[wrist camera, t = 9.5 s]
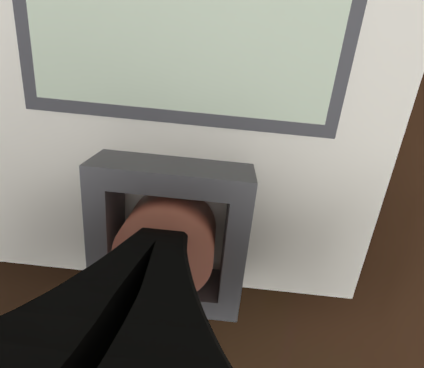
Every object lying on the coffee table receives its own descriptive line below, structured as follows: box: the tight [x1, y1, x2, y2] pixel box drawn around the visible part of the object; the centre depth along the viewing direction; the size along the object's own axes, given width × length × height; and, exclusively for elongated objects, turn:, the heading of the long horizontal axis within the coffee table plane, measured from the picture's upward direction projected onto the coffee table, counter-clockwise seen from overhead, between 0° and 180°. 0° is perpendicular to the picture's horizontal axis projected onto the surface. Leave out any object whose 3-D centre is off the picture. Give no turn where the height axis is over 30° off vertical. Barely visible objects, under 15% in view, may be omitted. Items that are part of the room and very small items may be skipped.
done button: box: [112, 195, 216, 291], centre depth 10 cm, size 3×3×2 cm
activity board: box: [0, 0, 424, 322], centre depth 8 cm, size 14×18×3 cm
